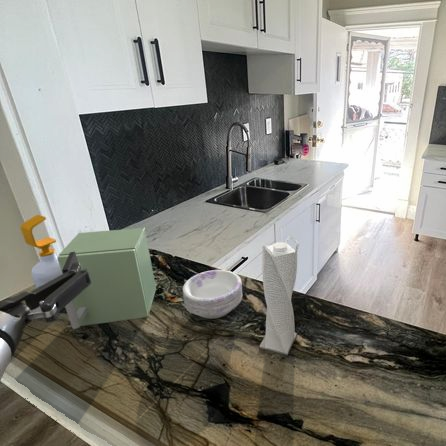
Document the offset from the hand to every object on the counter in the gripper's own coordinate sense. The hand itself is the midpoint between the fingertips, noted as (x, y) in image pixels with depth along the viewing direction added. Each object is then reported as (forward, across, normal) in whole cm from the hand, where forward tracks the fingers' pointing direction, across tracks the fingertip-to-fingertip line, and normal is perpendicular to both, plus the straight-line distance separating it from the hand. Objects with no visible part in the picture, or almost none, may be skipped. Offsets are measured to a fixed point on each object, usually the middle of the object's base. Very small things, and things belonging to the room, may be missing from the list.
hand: (27, 265), depth 54 cm
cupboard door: (+13, +7, -27) cm, 31 cm away
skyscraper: (-8, +44, -27) cm, 52 cm away
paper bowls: (+11, +32, -27) cm, 43 cm away
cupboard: (+22, +8, -27) cm, 36 cm away
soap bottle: (+32, -7, -27) cm, 43 cm away
